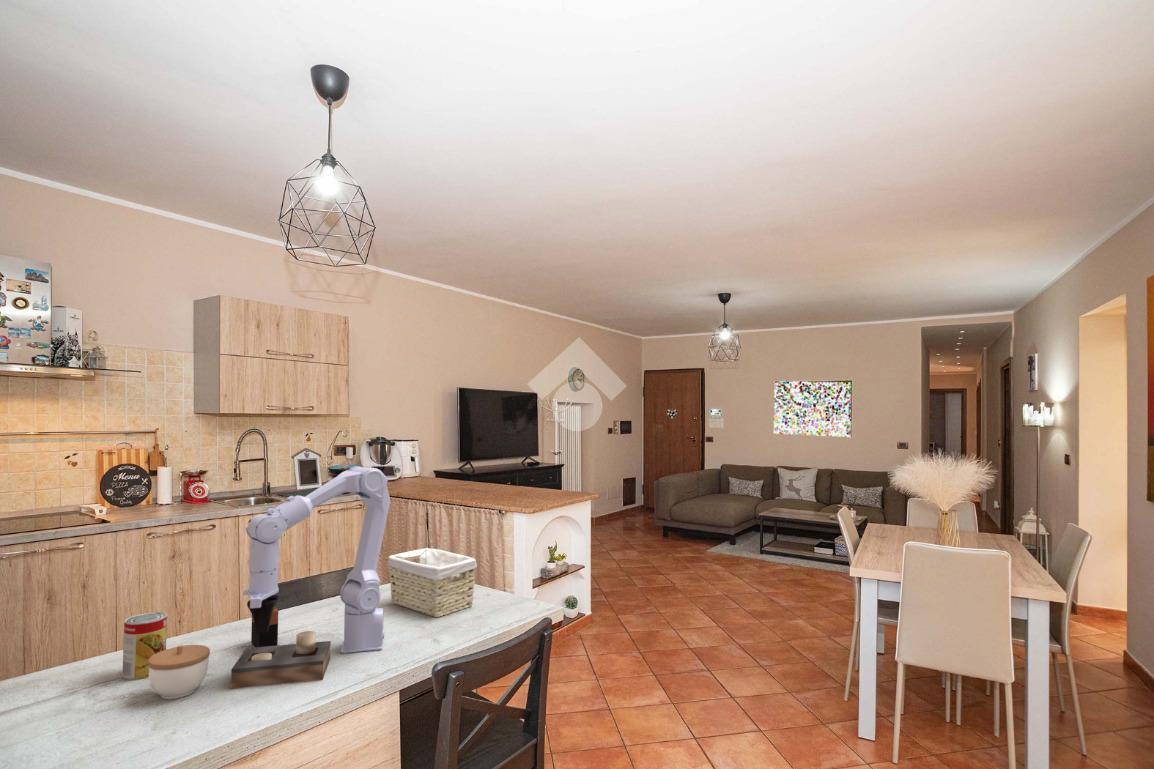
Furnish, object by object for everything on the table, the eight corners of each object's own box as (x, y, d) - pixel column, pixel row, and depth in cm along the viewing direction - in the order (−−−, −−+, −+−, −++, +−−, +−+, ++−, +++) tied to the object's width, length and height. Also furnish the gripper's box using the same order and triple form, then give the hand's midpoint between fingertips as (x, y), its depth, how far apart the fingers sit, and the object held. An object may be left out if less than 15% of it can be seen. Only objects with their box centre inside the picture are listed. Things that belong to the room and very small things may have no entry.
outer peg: (273, 668, 138) (273, 652, 138) (269, 675, 134) (269, 658, 134) (253, 670, 137) (254, 653, 137) (248, 677, 133) (249, 660, 133)
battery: (259, 651, 149) (260, 609, 149) (250, 643, 154) (251, 603, 154) (278, 646, 152) (279, 605, 152) (269, 639, 157) (270, 599, 157)
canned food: (173, 667, 139) (175, 614, 140) (139, 682, 132) (141, 625, 132) (149, 663, 142) (150, 610, 142) (113, 677, 134) (115, 621, 135)
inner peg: (316, 646, 140) (316, 630, 141) (313, 652, 136) (314, 636, 137) (297, 648, 139) (298, 631, 139) (294, 654, 135) (294, 638, 136)
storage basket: (478, 607, 184) (479, 557, 184) (435, 621, 171) (436, 567, 172) (428, 592, 198) (428, 546, 199) (384, 604, 186) (385, 555, 186)
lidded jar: (162, 709, 119) (164, 660, 120) (136, 696, 125) (138, 649, 126) (218, 688, 129) (220, 643, 129) (192, 677, 134) (193, 633, 135)
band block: (330, 658, 145) (330, 640, 145) (322, 679, 133) (323, 660, 133) (245, 666, 140) (246, 648, 140) (230, 688, 128) (231, 669, 129)
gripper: (252, 562, 142) (250, 622, 142) (234, 579, 128) (233, 645, 128) (285, 561, 144) (284, 619, 144) (271, 576, 130) (270, 642, 130)
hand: (262, 631), depth 136 cm, fingers closed
